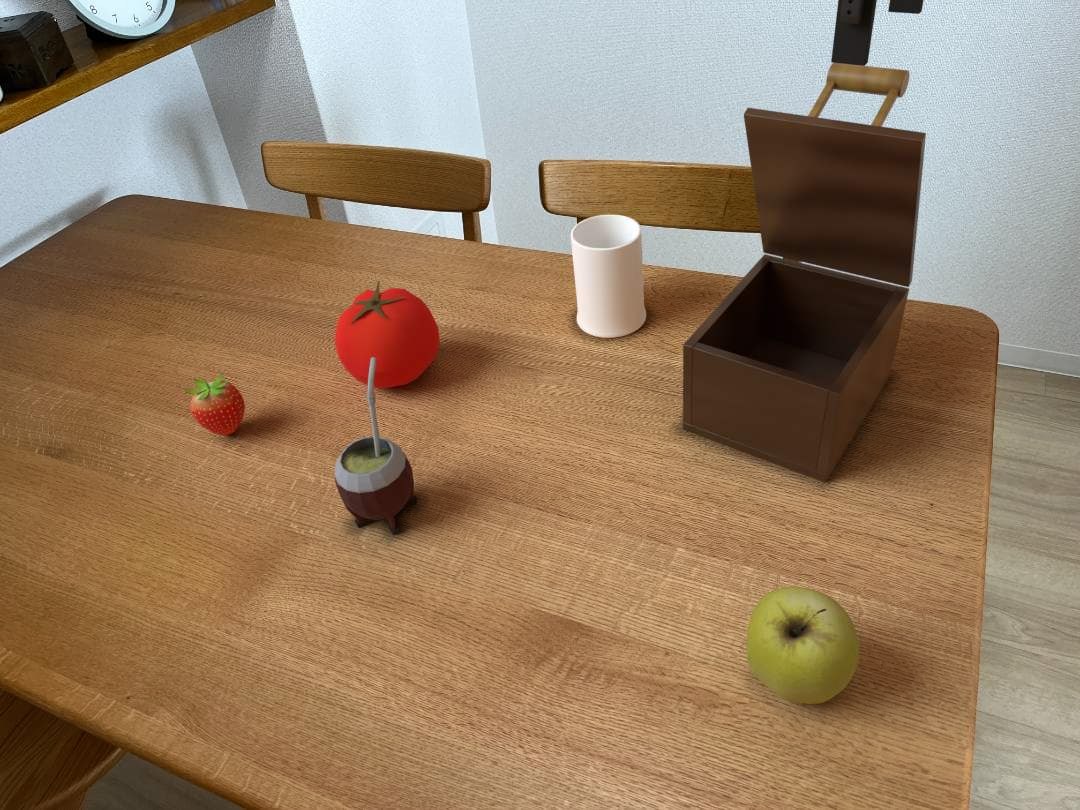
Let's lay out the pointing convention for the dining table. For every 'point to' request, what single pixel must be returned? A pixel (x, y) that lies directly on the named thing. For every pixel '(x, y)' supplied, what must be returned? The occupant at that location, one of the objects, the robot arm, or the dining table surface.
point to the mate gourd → (374, 474)
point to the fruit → (217, 406)
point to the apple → (802, 645)
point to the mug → (608, 275)
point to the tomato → (387, 337)
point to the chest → (791, 363)
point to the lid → (840, 181)
